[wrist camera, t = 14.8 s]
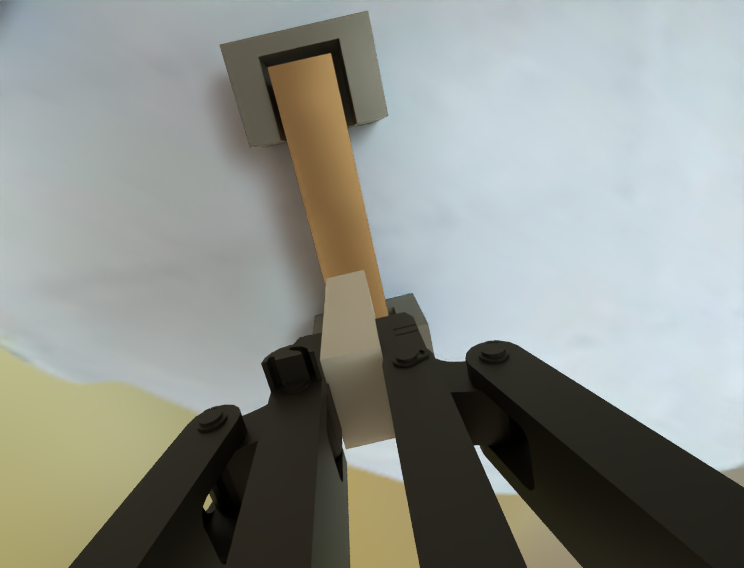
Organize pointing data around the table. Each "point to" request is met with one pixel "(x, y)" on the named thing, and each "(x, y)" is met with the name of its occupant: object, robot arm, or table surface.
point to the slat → (326, 170)
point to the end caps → (355, 83)
